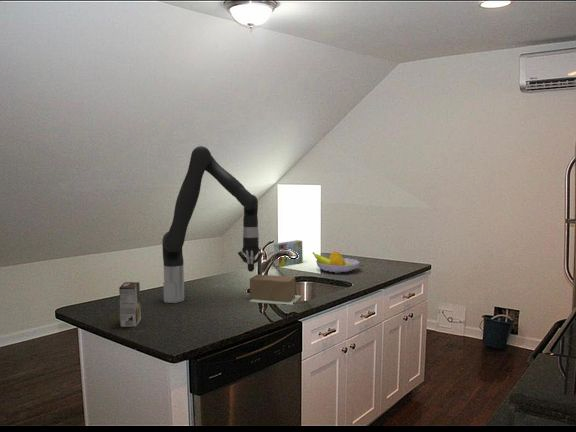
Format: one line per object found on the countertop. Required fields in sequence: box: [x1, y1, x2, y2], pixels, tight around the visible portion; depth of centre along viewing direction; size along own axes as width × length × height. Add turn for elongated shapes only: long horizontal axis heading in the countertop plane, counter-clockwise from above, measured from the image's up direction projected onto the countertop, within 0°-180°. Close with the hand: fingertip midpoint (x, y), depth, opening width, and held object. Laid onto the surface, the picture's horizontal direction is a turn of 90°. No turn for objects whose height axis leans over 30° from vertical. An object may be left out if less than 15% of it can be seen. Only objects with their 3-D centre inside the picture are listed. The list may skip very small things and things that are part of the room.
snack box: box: [273, 239, 304, 268], centre depth 322 cm, size 21×6×15 cm, turn 133°
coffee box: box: [118, 281, 142, 328], centre depth 199 cm, size 9×6×16 cm
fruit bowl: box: [312, 251, 360, 274], centre depth 302 cm, size 28×27×11 cm
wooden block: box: [249, 274, 296, 302], centre depth 236 cm, size 10×10×20 cm
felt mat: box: [248, 294, 302, 306], centre depth 236 cm, size 16×21×1 cm
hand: (251, 271), depth 238 cm, fingers closed
